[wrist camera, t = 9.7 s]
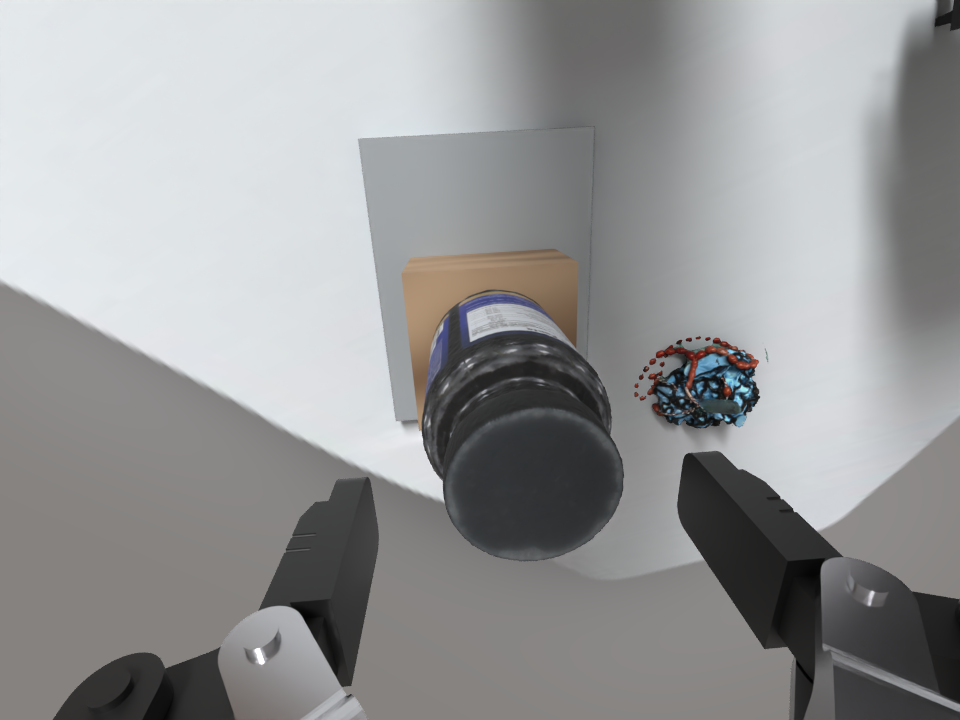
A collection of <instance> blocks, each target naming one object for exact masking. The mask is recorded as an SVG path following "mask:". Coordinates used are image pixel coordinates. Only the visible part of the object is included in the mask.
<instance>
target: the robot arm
mask: <svg viewBox="0 0 960 720" xmlns="http://www.w3.org/2000/svg"><path fill="white" fill-rule="evenodd" d="M677 508H678V515H679V518H680V521H681V524H682V526H683V528H684V529H685V531H686V532H687V534H688V535H689V537H690V538H691V540H692V541H693V543H694V544H695V546H696V547H697V549H698V550H699V552H700V553H701V555H702V556H703V558H704V559H705V561H706V562H707V564H708V565H709V567H710V568H711V570H712V571H713V573H714V574H715V576H716V577H717V579H718V580H719V582H720V583H721V585H722V586H723V588H724V589H725V591H726V592H727V594H728V595H729V597H730V598H731V600H732V601H733V603H734V604H735V606H736V607H737V608H738V610H739V612H740V613H741V614H742V616H743V617H744V619H745V621H746V622H747V623H748V625H749V627H750V628H751V630H752V631H753V632H754V634H755V635H756V637H757V638H758V640H759V641H760V643H761V644H762V646H763V647H764V649H769V648H780V647H788V648H789V650H790V651H791V652H792V654H793V655H794V659H793V662H792V667H791V685H790V709H789V720H960V599H954V598H948V597H942V596H936V595H930V594H924V593H918V592H912V591H911V590H910V589H909V588H908V587H907V586H906V585H905V584H903V582H902V581H900V580H899V579H898V578H896V577H895V576H893V575H892V574H890V573H889V572H887V571H885V570H883V569H882V568H879V567H877V566H875V565H873V564H870V563H867V562H865V561H862V560H858V559H853V558H845V557H843V556H842V555H841V554H840V553H839V552H838V551H837V550H835V549H834V548H833V547H832V546H831V545H830V544H829V543H828V542H827V541H826V540H825V539H824V538H823V537H822V536H821V535H820V534H819V533H818V532H817V531H816V530H815V529H814V528H813V527H812V526H810V525H809V524H808V523H807V522H806V521H805V520H804V519H803V518H802V517H801V516H800V515H799V514H798V513H797V512H794V511H793V508H792V507H791V506H790V505H789V504H788V503H787V502H785V501H784V500H783V499H782V500H781V499H780V496H779V495H778V494H777V493H776V492H775V491H774V490H773V489H772V488H771V487H770V486H769V485H768V484H767V483H766V482H765V481H763V480H761V479H759V478H758V477H756V476H754V475H752V474H750V473H749V472H747V471H745V470H743V469H742V470H738V469H737V468H736V467H735V466H734V465H733V464H732V463H731V462H730V461H729V460H728V459H727V458H726V457H725V456H724V455H723V454H722V453H721V452H718V451H712V452H699V453H688V454H686V455H685V457H684V459H683V465H682V472H681V480H680V487H679V494H678V502H677ZM378 541H379V533H378V524H377V517H376V512H375V506H374V500H373V494H372V488H371V482H370V479H369V478H368V477H364V478H351V479H338V480H337V481H336V483H335V486H334V489H333V491H332V493H331V496H330V499H329V501H323V502H315V503H314V504H313V505H312V506H311V507H310V508H309V509H308V510H307V511H306V513H304V514H303V515H302V516H301V517H300V519H299V521H298V524H297V526H296V528H295V530H294V533H293V537H292V538H291V540H290V542H289V544H288V546H287V548H286V553H284V555H283V557H282V559H281V562H280V564H279V567H278V568H277V571H276V573H275V575H274V577H273V580H272V582H271V584H270V586H269V588H268V591H267V593H266V595H265V598H264V600H263V602H262V604H261V606H260V609H259V610H258V611H257V612H255V613H253V614H251V615H250V616H248V617H247V618H245V619H244V620H242V621H241V622H240V623H239V624H237V626H235V627H234V628H233V629H232V631H231V632H230V633H229V634H228V635H227V637H226V638H225V640H224V642H223V643H222V646H221V647H219V648H218V649H216V650H214V651H211V652H209V653H206V654H203V655H201V656H198V657H196V658H193V659H190V660H187V661H185V662H182V663H179V664H177V665H174V666H171V667H168V668H166V669H165V667H164V665H163V663H162V661H161V659H160V658H159V657H158V656H156V655H154V654H151V653H135V654H131V655H127V656H124V657H122V658H119V659H117V660H114V661H112V662H111V663H109V664H107V665H105V666H103V667H102V668H101V669H99V670H98V671H96V672H94V673H93V674H92V675H91V676H90V677H88V678H87V679H86V680H85V681H83V682H82V683H81V684H80V685H79V686H78V687H77V688H76V689H75V690H74V692H72V694H71V695H70V696H69V698H68V699H67V700H66V701H65V703H64V704H63V706H62V707H61V709H60V710H59V711H58V713H57V714H56V716H55V717H54V719H53V720H369V719H368V718H367V716H366V714H365V712H364V711H363V709H362V707H361V706H360V704H359V702H358V701H357V699H356V698H355V697H354V696H353V695H352V694H350V695H349V696H347V695H346V694H345V692H344V690H343V689H342V687H344V686H351V684H352V679H353V674H354V668H355V664H356V659H357V654H358V649H359V644H360V639H361V634H362V628H363V624H364V618H365V614H366V609H367V603H368V598H369V593H370V588H371V583H372V578H373V573H374V568H375V563H376V558H377V552H378Z"/></svg>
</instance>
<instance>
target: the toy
mask: <svg viewBox="0 0 960 720" xmlns="http://www.w3.org/2000/svg"><path fill="white" fill-rule="evenodd" d="M948 23H951V29H950V31H951V30H955V29H959V28H960V0H954V5H953V11H951V12H949V13H947V14H945V15H943V16H941V17H939V18H937V19H936V23H935V27H936V26H940V25H944V24H948Z"/></svg>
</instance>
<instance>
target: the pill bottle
mask: <svg viewBox="0 0 960 720" xmlns="http://www.w3.org/2000/svg"><path fill="white" fill-rule="evenodd" d="M611 418H612V417H611V408H610V403H609V400H608V397H607V393H606V391H605V387H603V385H602V383H601V380H600V379H599V378H598V374H597V373H596V371H595V370H594V369H593V368H592V366H590V365H589V363H588V362H587V361H586V360H585V359H584V358H583V356H582V355H581V354H580V353H579V352H578V350H577V349H576V348H575V347H574V346H573V344H572V343H571V342H570V341H569V339H568V338H567V337H566V336H565V334H564V333H563V332H562V331H561V329H560V328H559V327H558V326H557V324H556V323H555V322H554V321H553V320H552V318H551V317H550V316H549V314H548V313H547V312H546V311H545V310H544V309H543V308H542V307H541V306H540V305H539V304H538V303H537V302H536V301H534V300H533V299H530V298H528V297H526V296H525V295H523V294H520V293H517V292H513V291H506V290H495V289H493V290H485V291H482V292H479V293H476V294H473V295H470V296H468V297H467V298H465V299H464V300H462V301H461V302H459V303H457V304H456V305H455V306H454V307H452V308H451V309H450V310H449V311H448V312H447V313H446V314H445V315H444V316H443V318H442V319H441V321H440V323H439V325H438V326H437V328H436V331H435V334H434V335H433V341H432V345H431V351H430V360H429V369H428V377H427V385H426V390H425V402H424V410H423V415H422V422H421V423H422V436H423V445H424V448H425V451H426V453H427V456H428V459H429V461H430V463H431V465H432V467H433V469H434V471H435V472H436V474H437V475H438V476H439V477H440V479H441V480H442V481H443V494H444V500H445V505H446V509H447V512H448V515H449V517H450V519H451V521H452V523H453V524H454V526H455V527H456V528H457V530H458V531H459V532H460V533H461V534H462V536H463V537H464V538H465V539H467V540H468V541H469V542H470V543H471V544H472V545H473V546H475V547H477V548H479V549H480V550H482V551H484V552H487V553H488V554H490V555H494V556H496V557H500V558H504V559H510V560H519V561H538V560H545V559H549V558H554V557H558V556H561V555H563V554H565V553H567V552H570V551H572V550H575V549H576V548H578V547H580V546H582V545H583V544H585V543H587V542H588V541H590V540H591V539H593V538H594V536H595V535H596V534H597V533H598V532H600V531H601V529H603V527H604V526H605V525H606V524H607V523H608V522H609V520H610V519H611V517H612V516H613V514H614V512H615V510H616V508H617V506H618V504H619V501H620V498H621V496H622V491H623V478H624V472H623V464H622V459H621V457H620V454H619V452H618V450H617V447H616V445H615V443H614V441H613V440H612V438H611V437H610V431H611V422H612V421H611Z"/></svg>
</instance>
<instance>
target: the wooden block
mask: <svg viewBox="0 0 960 720" xmlns="http://www.w3.org/2000/svg"><path fill="white" fill-rule="evenodd" d="M401 275H402V283H403V292H404V301H405V310H406V318H407V327H408V336H409V345H410V353H411V362H412V371H413V380H414V388H415V397H416V406H417V415H418V423H419V431H420V430H422V423H421V422H422V415H423V410H424V402H425V390H426V385H427V377H428V369H429V360H430V351H431V345H432V341H433V335H434V334H435V331H436V328H437V326H438V325H439V323H440V321H441V319H442V318H443V316H444V315H445V314H446V313H447V312H448V311H449V310H450V309H451V308H452V307H454V306H455V305H456V304H457V303H459V302H461V301H462V300H464V299H465V298H467V297H468V296H470V295H473V294H476V293H479V292H482V291H485V290H493V289H495V290H506V291H513V292H517V293H520V294H523V295H525V296H526V297H528V298H530V299H533V300H534V301H536V302H537V303H538V304H539V305H540V306H541V307H542V308H543V309H544V310H545V311H546V312H547V313H548V314H549V316H550V317H551V318H552V320H553V321H554V322H555V323H556V324H557V326H558V327H559V328H560V329H561V331H562V332H563V333H564V334H565V336H566V337H567V338H568V339H569V341H570V342H571V343H572V344H573V346H574V347H575V348H576V342H577V301H578V262H577V261H575V260H574V259H572V258H570V257H568V256H567V255H565V254H563V253H562V252H560V251H558V250H556V249H542V250H526V251H509V252H493V253H477V254H461V255H444V256H428V257H412V258H410V260H409V261H408V263H407V265H406V266H405V268H404V270H403V271H402V273H401Z"/></svg>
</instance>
